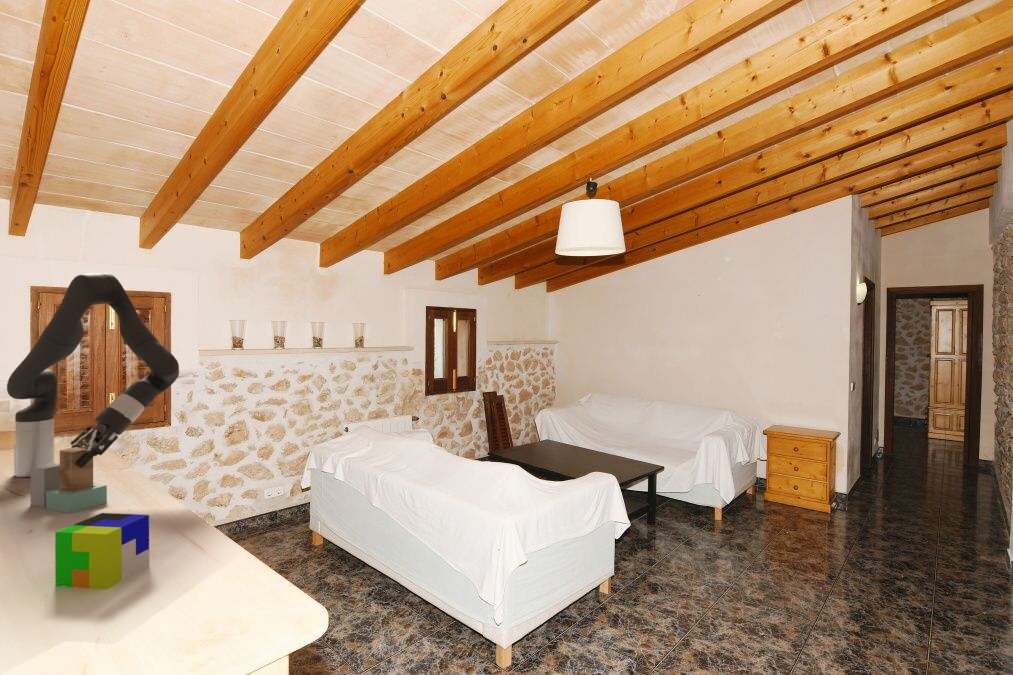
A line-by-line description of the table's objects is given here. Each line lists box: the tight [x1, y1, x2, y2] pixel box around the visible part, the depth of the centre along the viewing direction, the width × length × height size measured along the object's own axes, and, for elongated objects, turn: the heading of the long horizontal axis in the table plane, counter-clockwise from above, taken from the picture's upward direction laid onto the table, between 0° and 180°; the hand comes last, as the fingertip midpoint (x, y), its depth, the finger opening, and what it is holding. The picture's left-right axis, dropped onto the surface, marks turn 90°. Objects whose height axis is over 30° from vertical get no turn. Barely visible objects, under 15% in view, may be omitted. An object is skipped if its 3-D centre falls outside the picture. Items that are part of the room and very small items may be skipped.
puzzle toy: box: [54, 512, 150, 590], centre depth 101 cm, size 10×10×10 cm
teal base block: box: [45, 482, 108, 514], centre depth 140 cm, size 9×9×5 cm
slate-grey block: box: [30, 462, 60, 508], centre depth 141 cm, size 5×5×10 cm
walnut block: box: [59, 446, 94, 491], centre depth 139 cm, size 5×5×10 cm
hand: (70, 463), depth 138 cm, fingers open, 8 cm apart
